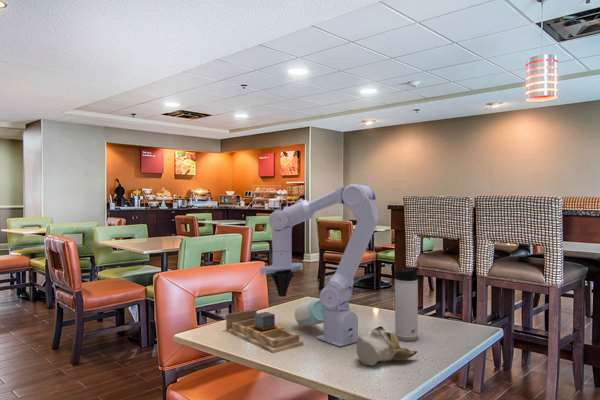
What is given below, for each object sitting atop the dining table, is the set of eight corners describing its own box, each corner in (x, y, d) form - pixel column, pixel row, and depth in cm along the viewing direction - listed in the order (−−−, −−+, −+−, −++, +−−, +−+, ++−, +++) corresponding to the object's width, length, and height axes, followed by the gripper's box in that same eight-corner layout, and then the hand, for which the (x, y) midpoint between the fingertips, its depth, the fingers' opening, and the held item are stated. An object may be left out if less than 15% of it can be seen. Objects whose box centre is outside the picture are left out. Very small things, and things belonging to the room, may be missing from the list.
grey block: (274, 335, 122) (274, 314, 122) (263, 338, 119) (262, 316, 119) (266, 332, 125) (266, 311, 125) (254, 335, 122) (254, 314, 122)
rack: (303, 344, 117) (303, 326, 117) (273, 353, 110) (273, 333, 110) (254, 324, 135) (254, 308, 135) (226, 331, 129) (226, 314, 129)
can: (304, 298, 136) (321, 292, 126) (318, 316, 136) (336, 311, 126) (289, 313, 133) (305, 308, 122) (303, 331, 132) (321, 328, 122)
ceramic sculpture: (344, 323, 106) (389, 318, 114) (343, 359, 106) (387, 351, 114) (374, 335, 97) (420, 328, 105) (372, 374, 97) (418, 364, 105)
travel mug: (419, 342, 118) (419, 269, 118) (395, 341, 119) (395, 268, 119) (418, 335, 124) (418, 266, 124) (394, 334, 126) (394, 265, 126)
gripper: (292, 247, 137) (293, 290, 137) (254, 251, 128) (254, 297, 128) (307, 249, 131) (307, 294, 131) (267, 253, 122) (268, 301, 122)
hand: (282, 296), depth 129 cm, fingers closed
